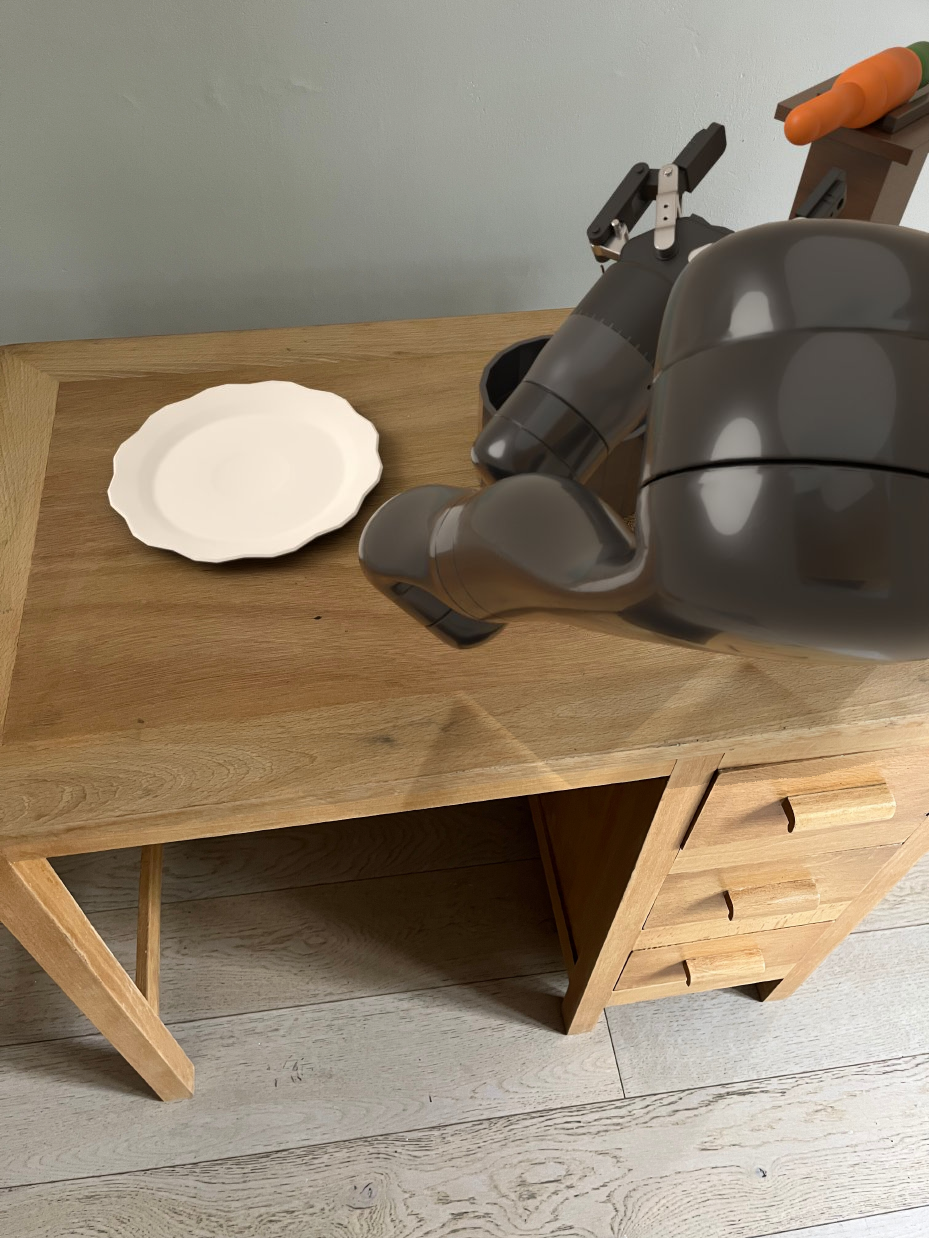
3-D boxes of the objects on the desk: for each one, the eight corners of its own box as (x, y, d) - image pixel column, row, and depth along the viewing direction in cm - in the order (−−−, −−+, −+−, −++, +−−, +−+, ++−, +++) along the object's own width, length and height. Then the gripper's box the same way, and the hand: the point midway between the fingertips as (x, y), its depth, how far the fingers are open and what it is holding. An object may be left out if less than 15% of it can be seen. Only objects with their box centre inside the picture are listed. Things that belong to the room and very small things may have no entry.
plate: (424, 430, 86) (423, 415, 85) (303, 608, 71) (300, 593, 70) (210, 373, 92) (206, 358, 90) (58, 527, 77) (50, 512, 76)
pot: (682, 476, 82) (705, 389, 74) (568, 562, 75) (580, 475, 67) (557, 400, 89) (567, 313, 82) (443, 471, 82) (441, 383, 75)
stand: (838, 465, 83) (1008, 88, 57) (774, 520, 78) (927, 135, 53) (744, 413, 88) (861, 45, 62) (677, 462, 83) (775, 84, 58)
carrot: (933, 101, 59) (966, 45, 56) (802, 174, 52) (832, 115, 49) (890, 75, 60) (921, 19, 57) (756, 144, 53) (783, 84, 50)
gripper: (697, 380, 46) (889, 144, 46) (509, 278, 53) (676, 71, 52) (712, 444, 53) (879, 238, 53) (543, 347, 59) (692, 163, 59)
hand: (778, 155), depth 52 cm, fingers open, 8 cm apart
